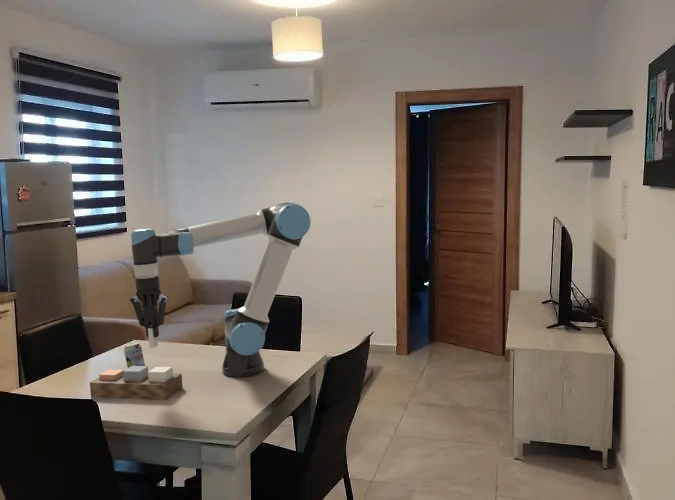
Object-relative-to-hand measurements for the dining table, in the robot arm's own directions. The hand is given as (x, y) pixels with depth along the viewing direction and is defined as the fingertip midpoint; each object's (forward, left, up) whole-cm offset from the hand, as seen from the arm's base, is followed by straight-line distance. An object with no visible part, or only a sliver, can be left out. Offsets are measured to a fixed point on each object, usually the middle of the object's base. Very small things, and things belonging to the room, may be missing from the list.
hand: (153, 346), depth 211 cm
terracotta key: (+16, 0, -13) cm, 21 cm away
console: (+7, 0, -16) cm, 17 cm away
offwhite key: (-2, 0, -12) cm, 12 cm away
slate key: (+7, 0, -12) cm, 14 cm away
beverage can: (+17, -17, -16) cm, 29 cm away
